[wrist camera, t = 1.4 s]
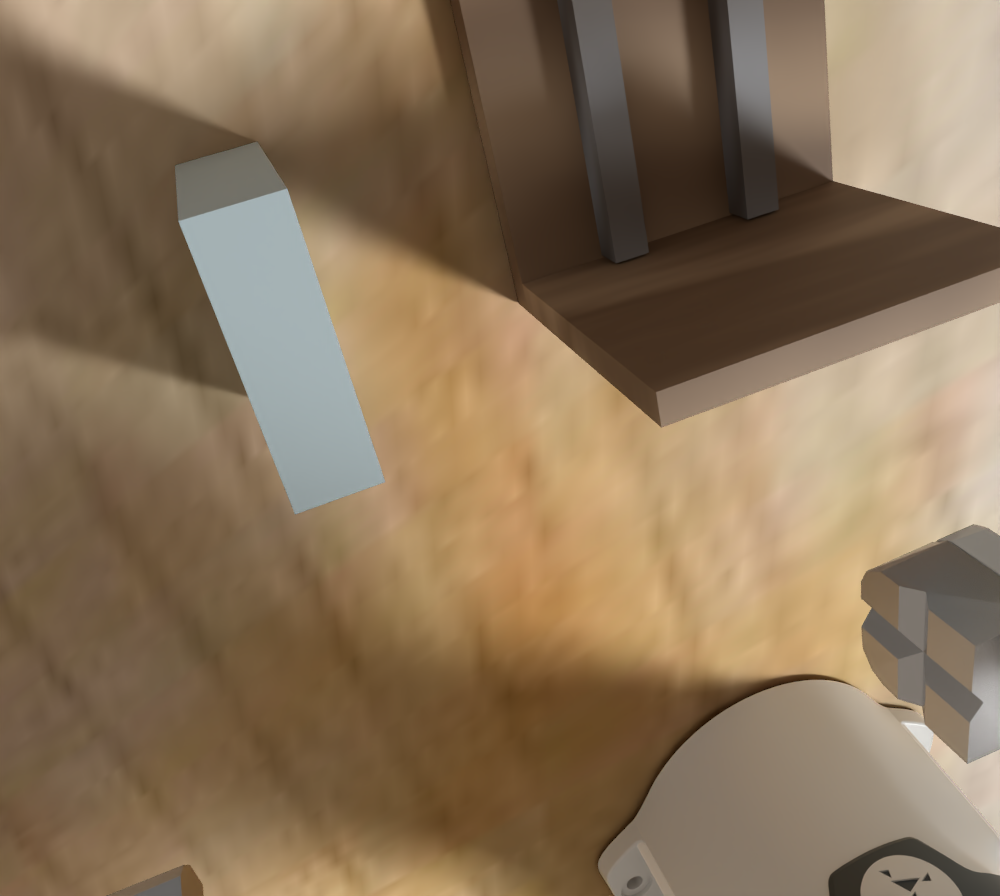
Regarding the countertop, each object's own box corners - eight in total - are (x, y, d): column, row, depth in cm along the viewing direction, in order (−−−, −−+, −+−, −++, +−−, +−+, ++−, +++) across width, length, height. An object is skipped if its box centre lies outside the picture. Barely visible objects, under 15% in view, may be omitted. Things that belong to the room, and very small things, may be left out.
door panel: (338, 377, 32) (385, 482, 25) (266, 401, 32) (294, 514, 25) (257, 141, 28) (287, 188, 21) (174, 165, 28) (178, 221, 21)
